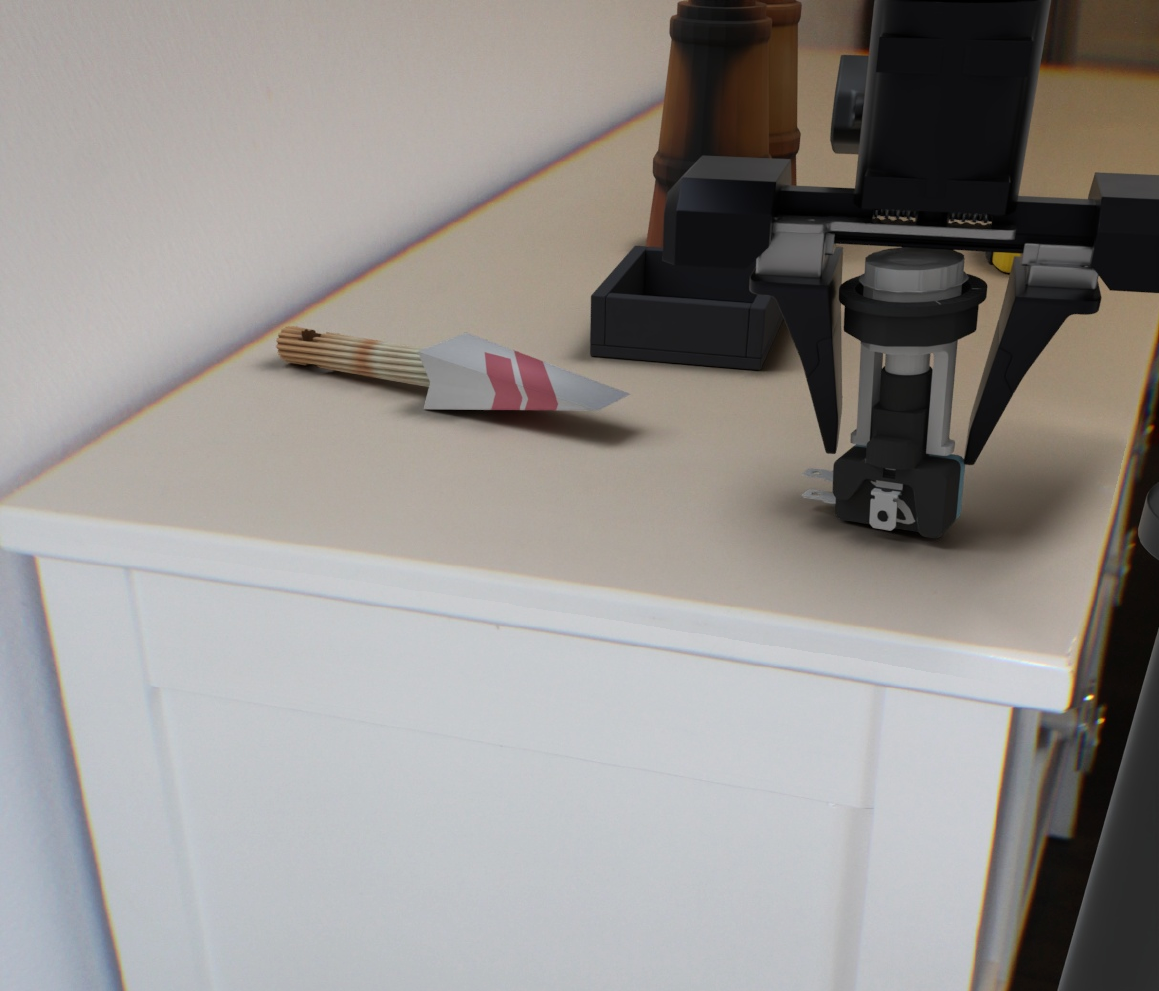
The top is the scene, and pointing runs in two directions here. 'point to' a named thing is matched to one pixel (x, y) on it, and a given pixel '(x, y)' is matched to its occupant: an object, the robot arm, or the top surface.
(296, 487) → the top surface
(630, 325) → the black hollow square tray
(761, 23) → the binoculars
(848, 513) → the push button
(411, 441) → the top surface
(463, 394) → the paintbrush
